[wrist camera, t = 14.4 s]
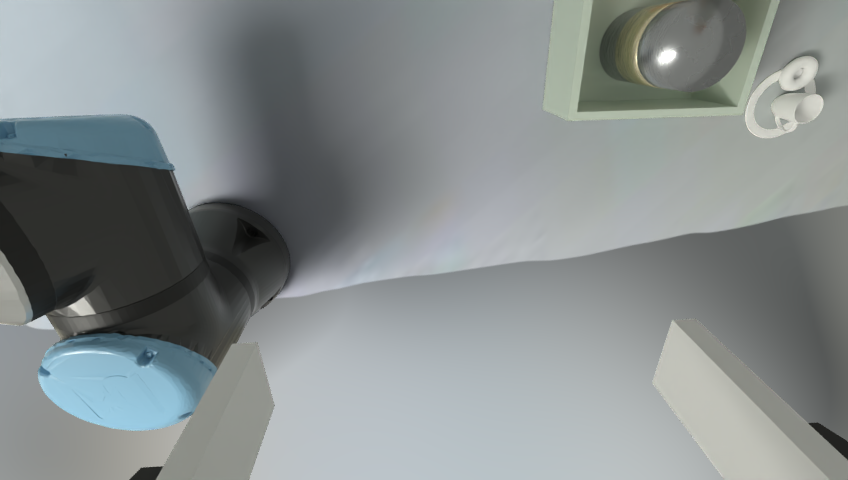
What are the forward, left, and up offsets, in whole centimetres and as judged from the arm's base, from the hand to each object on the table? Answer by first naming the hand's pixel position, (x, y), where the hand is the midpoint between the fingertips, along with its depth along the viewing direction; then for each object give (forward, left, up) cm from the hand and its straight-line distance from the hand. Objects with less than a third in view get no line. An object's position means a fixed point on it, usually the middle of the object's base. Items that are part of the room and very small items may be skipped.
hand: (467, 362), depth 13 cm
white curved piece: (+45, +3, -37) cm, 59 cm away
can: (+23, +9, -36) cm, 44 cm away
